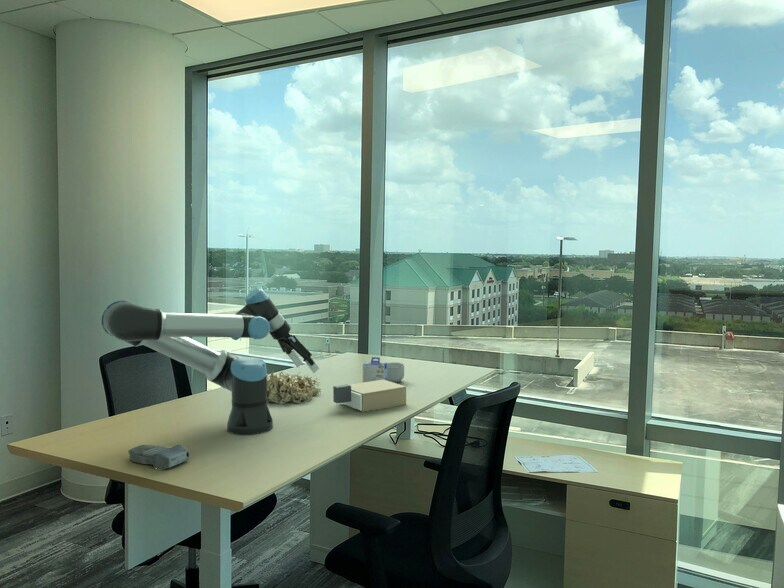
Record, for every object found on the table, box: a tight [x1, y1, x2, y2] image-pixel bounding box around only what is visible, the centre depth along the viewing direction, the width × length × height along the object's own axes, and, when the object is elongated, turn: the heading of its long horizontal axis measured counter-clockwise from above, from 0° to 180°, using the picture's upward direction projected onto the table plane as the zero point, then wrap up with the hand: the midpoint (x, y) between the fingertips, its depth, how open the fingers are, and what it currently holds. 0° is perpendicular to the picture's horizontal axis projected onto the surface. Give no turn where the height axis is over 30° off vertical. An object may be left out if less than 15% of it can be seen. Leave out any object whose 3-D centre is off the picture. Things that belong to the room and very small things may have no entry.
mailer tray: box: [332, 383, 362, 411], centre depth 236 cm, size 26×16×8 cm, turn 125°
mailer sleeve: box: [349, 380, 407, 412], centre depth 238 cm, size 20×16×7 cm
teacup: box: [386, 362, 405, 384], centre depth 279 cm, size 14×11×8 cm
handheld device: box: [128, 444, 190, 470], centre depth 175 cm, size 10×20×5 cm, turn 65°
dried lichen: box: [267, 369, 324, 405], centre depth 250 cm, size 27×30×11 cm
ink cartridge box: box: [362, 356, 388, 383], centre depth 259 cm, size 10×6×14 cm, turn 78°
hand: (308, 367), depth 233 cm, fingers open, 13 cm apart
